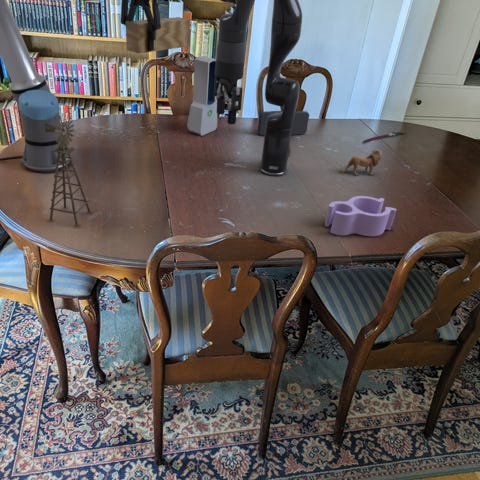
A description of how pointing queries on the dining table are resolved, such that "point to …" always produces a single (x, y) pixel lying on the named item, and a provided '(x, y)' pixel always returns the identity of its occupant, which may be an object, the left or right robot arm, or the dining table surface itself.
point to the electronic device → (203, 97)
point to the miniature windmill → (60, 149)
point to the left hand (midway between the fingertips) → (141, 48)
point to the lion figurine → (365, 162)
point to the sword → (382, 136)
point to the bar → (158, 35)
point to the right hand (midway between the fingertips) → (225, 118)
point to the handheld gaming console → (297, 127)
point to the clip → (359, 216)
